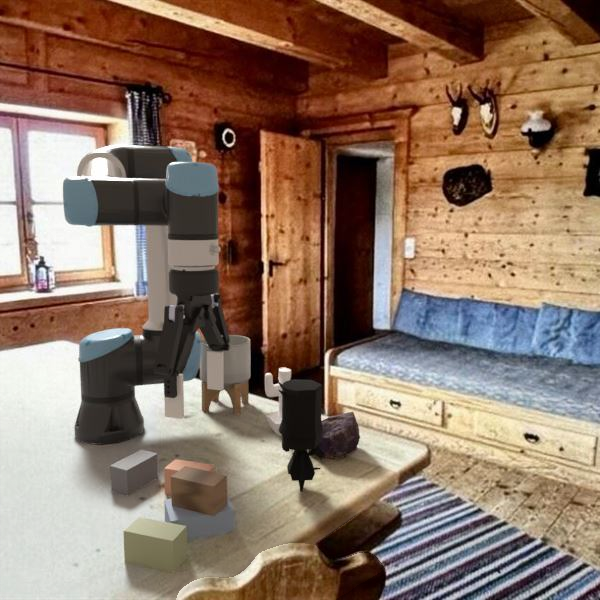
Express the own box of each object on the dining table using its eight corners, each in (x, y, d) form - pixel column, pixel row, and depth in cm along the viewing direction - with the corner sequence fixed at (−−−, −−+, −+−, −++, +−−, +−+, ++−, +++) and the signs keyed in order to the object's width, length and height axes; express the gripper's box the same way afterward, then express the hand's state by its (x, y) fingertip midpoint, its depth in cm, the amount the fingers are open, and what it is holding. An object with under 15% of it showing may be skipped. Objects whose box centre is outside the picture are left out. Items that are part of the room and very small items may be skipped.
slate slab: (171, 545, 87) (170, 521, 86) (165, 522, 94) (164, 499, 93) (234, 532, 91) (234, 509, 90) (224, 511, 97) (224, 489, 96)
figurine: (309, 433, 130) (310, 370, 128) (271, 440, 126) (271, 375, 124) (296, 423, 137) (296, 362, 134) (259, 429, 133) (259, 367, 130)
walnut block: (171, 505, 91) (170, 476, 90) (186, 494, 95) (185, 466, 94) (214, 516, 88) (213, 486, 87) (227, 504, 92) (227, 475, 91)
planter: (192, 404, 149) (190, 338, 146) (234, 395, 157) (234, 332, 154) (215, 419, 139) (214, 348, 136) (260, 408, 146) (259, 341, 144)
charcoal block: (127, 496, 101) (126, 470, 100) (111, 491, 103) (110, 465, 102) (158, 478, 108) (157, 453, 107) (142, 473, 110) (141, 449, 109)
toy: (275, 479, 108) (276, 377, 105) (323, 477, 109) (325, 377, 106) (277, 501, 100) (278, 392, 97) (329, 499, 101) (331, 391, 98)
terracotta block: (164, 494, 102) (164, 468, 101) (176, 484, 106) (175, 459, 105) (204, 501, 100) (204, 474, 99) (214, 490, 104) (214, 465, 103)
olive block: (124, 562, 82) (123, 530, 82) (140, 547, 86) (139, 516, 85) (173, 573, 80) (172, 540, 79) (187, 557, 84) (186, 526, 83)
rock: (304, 456, 121) (329, 474, 112) (299, 419, 119) (323, 434, 111) (350, 438, 126) (377, 454, 118) (345, 402, 125) (372, 416, 116)
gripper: (174, 278, 73) (177, 434, 76) (248, 261, 96) (249, 381, 100) (123, 275, 75) (129, 427, 78) (208, 259, 98) (210, 377, 102)
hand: (196, 402), depth 89 cm, fingers open, 13 cm apart
